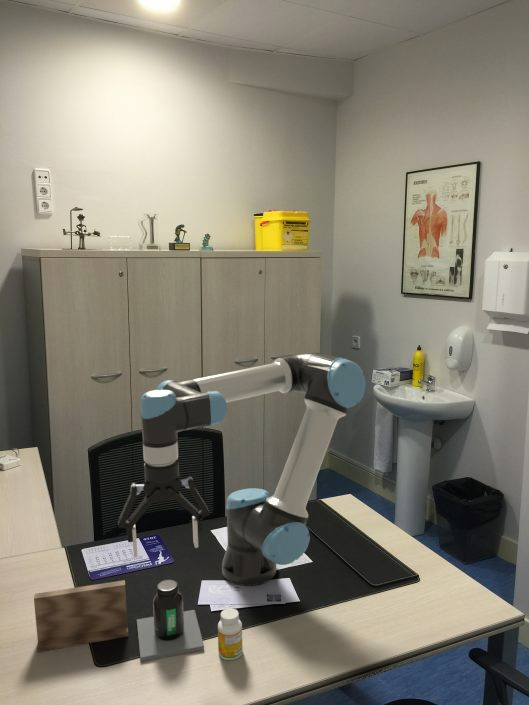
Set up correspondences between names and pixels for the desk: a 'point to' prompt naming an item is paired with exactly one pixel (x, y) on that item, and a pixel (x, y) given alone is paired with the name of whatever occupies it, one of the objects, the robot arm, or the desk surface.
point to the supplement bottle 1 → (168, 611)
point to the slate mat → (160, 648)
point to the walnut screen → (80, 615)
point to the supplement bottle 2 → (230, 635)
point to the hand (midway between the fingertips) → (166, 549)
